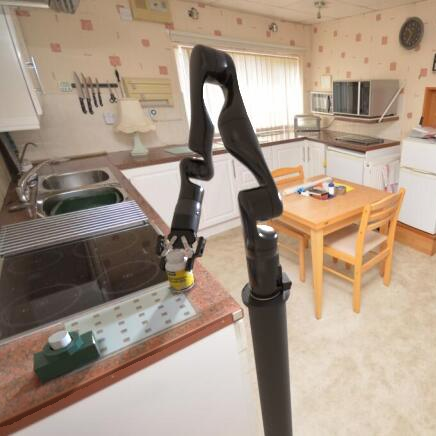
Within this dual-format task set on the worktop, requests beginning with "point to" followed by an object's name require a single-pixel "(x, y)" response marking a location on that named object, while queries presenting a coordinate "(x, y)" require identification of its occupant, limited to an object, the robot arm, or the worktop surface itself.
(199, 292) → the worktop surface
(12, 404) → the worktop surface
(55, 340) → the white short cylinder
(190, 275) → the pill bottle
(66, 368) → the button base
